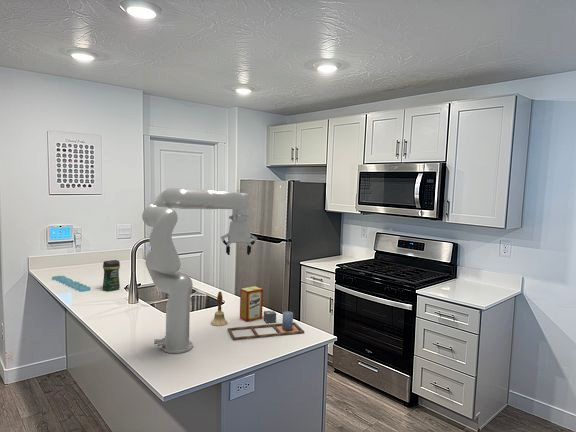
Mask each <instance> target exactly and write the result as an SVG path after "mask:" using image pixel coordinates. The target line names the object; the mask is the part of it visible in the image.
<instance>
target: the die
mask: <svg viewBox="0 0 576 432" xmlns="http://www.w3.org/2000/svg"><path fill="white" fill-rule="evenodd" d="M263 322H264V323H265V325H268V324H269V323H270V324H277V312H276V311H274V310H273V309H271V310H264V311H263Z"/></svg>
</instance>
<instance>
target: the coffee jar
mask: <svg viewBox="0 0 576 432" xmlns="http://www.w3.org/2000/svg"><path fill="white" fill-rule="evenodd" d="M102 265H103V266H102V269H103V281H102V290H103V291H105V292H106V291H107V292H110V291H111V292H112V291H117V290H120V286H121V284H120V271H119V270H120V268H121V264H120V260H117V259H113V260H104V261H103V264H102Z"/></svg>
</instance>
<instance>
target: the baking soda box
mask: <svg viewBox="0 0 576 432" xmlns="http://www.w3.org/2000/svg"><path fill="white" fill-rule="evenodd" d="M263 294H264V288H261V287H258V286H256V285H255V286H249V287H244V288H243V287H242V288H240V294H239V295H240V297H239V319H240V320H242V321H243V322H246V323H248V322H249V323H250V322H253V321H258V320H261V319H262V320H263V304H264V303H263V300H264V298H263V297H264V295H263Z"/></svg>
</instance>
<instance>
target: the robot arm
mask: <svg viewBox="0 0 576 432" xmlns="http://www.w3.org/2000/svg"><path fill="white" fill-rule="evenodd" d="M249 198H250V197H249V194H248V193H246V192H236V191H220V190H219V191H218V190H213V189H200V188H186V187H185V188H184V187H183V188H182V187H169V188H166V189H165V190H163V191H162V192H161V193H159V195H158V196H156V197H155V198H154V199H153V200H152V201H151V202H150V203H149V204H148V205H147V206H145V209H143V212H142V215H141V217H142V218H141V219H142V221H143V223H144V224H145V225H146V226H147V227H152V230H151V233H150V235H149V238H148V239H149V240H148V241H149V246H150V249H151V250H149V251H148V252H147V254H146V257H145V266H146V269H147V271H148V273H149V276H150V277H151V278H150V279H151V280H152V282H153V285H154V286H155V288H156V290H158V291H160V292H163V293H165V294H168V295H169V296H168V300H167V301H166V306H165V335H164V337H162V338H161V339H160V338H159V339H158V338H156V339H154V340H153V344H154V345H157V346H161V350H162V351H163V352H165V353H169V354H182V353H186V352H188V351H191V350H192V349H193V348H194V343H193V342H192V341H191V340H190V323H191V322H190V320H191V319H190V318H191V317H190V316H191V315H190V313H191V311H190V310H191V308H190V307H191V297H192V291H193V280H192V278H191V277H190V276H189V275H187V274H185V273H182V272H179V271H180V269H181V266H182V265H181V264H182V263H181V260H180V256H179V255H178V252H177V250H176V247H175V245H174V242H173V241H174V240H173V232H174V229H175V227H176V225H177V223H178V218H179V217H178V213H177V211H176V210H175V209H179V210H180V209H182V210H232V211H231V213H232V214H231V215H229V216H228V219H229V220H231V221H230V222H229V227H228V233H226V234H224V235H222V236H220V239H221V241H222V243H223V244H224V245H225V253H226V254H227V255H229V256H230V255H231V253H230V252H231V247H230V245H231V244H247V246H246V254H247V255H248V256H250V254H251V253H252V247H253V245H254V244H255V243H256V241H257V239H258V237H256V236H255V235H253V234H251V223H250V222H249V203H250V202H249V201H250V199H249ZM226 238H227V241H226V240H225V239H226ZM251 238H252V240H251Z"/></svg>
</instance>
